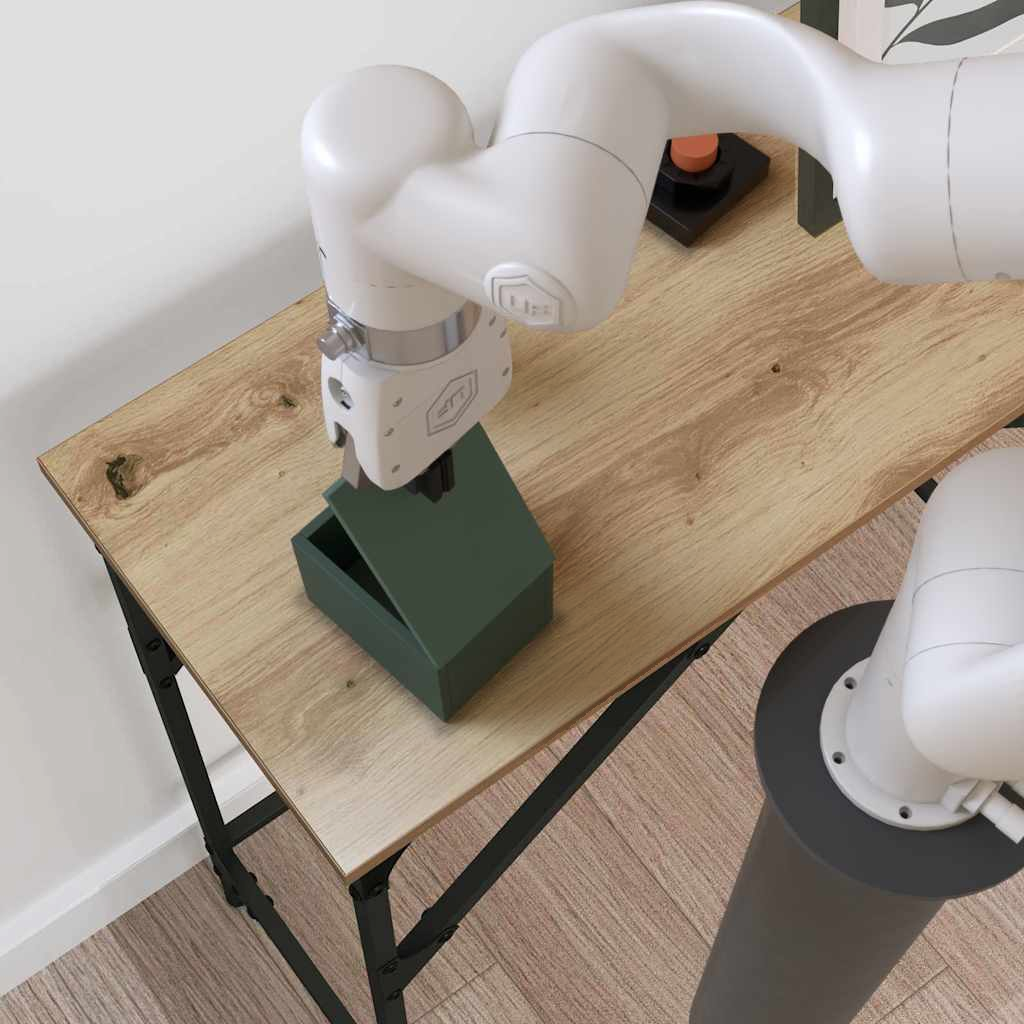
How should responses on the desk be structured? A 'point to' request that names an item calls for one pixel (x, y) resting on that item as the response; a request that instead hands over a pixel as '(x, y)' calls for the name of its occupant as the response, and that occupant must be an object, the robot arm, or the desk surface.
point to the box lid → (448, 546)
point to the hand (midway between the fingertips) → (426, 480)
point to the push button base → (704, 188)
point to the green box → (386, 637)
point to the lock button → (694, 152)
